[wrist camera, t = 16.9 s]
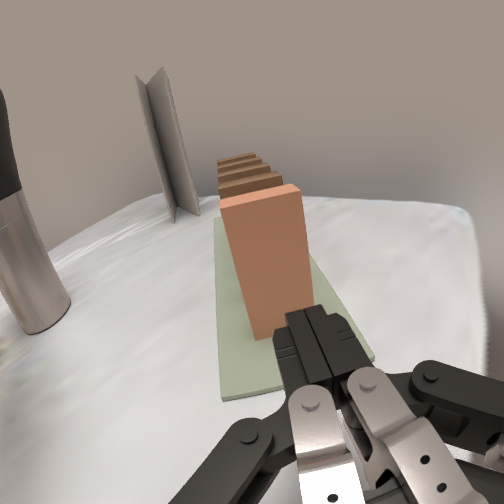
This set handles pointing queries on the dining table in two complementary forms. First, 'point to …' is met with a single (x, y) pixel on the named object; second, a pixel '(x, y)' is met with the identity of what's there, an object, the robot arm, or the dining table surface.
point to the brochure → (167, 143)
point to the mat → (240, 332)
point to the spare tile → (269, 254)
